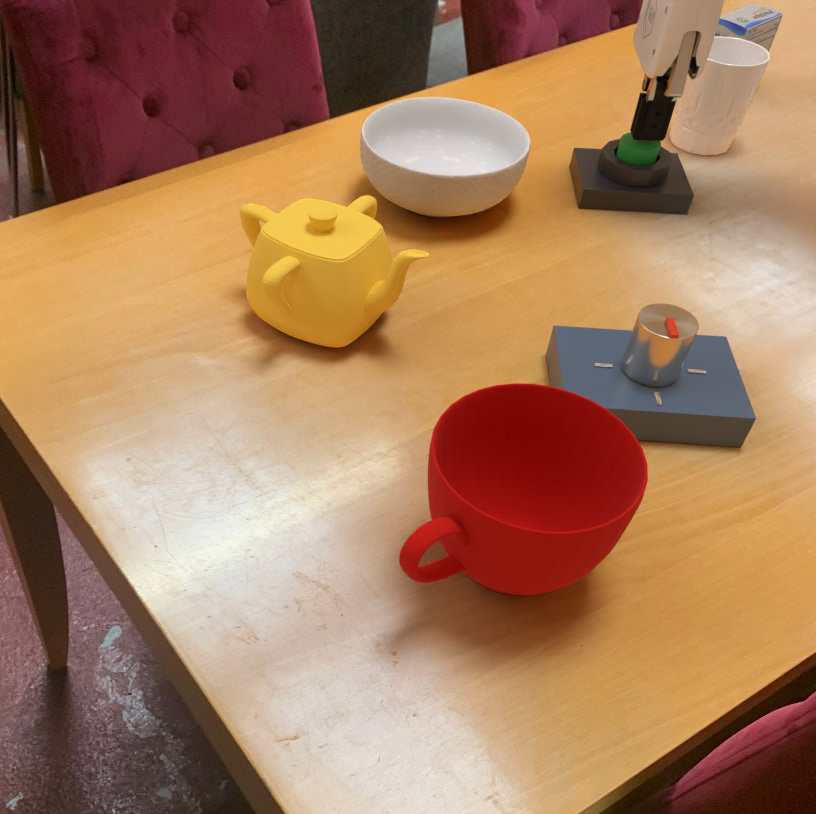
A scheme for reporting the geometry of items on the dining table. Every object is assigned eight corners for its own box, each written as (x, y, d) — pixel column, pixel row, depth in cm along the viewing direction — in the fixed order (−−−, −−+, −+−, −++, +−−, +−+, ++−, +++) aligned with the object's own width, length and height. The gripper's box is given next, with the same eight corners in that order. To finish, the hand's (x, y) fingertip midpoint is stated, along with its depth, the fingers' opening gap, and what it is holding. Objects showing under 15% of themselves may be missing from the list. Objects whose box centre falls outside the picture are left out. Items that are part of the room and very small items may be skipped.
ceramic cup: (330, 568, 60) (335, 464, 53) (506, 462, 67) (533, 356, 60) (464, 705, 53) (493, 607, 46) (645, 571, 60) (695, 467, 53)
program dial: (617, 349, 71) (634, 298, 68) (672, 353, 71) (693, 301, 68) (626, 385, 68) (644, 333, 65) (684, 388, 68) (706, 337, 65)
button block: (671, 172, 97) (683, 136, 94) (687, 215, 91) (700, 178, 88) (569, 166, 98) (577, 130, 95) (578, 209, 92) (588, 172, 89)
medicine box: (725, 75, 114) (751, 1, 108) (756, 86, 112) (785, 12, 106) (689, 91, 111) (714, 16, 104) (721, 104, 109) (748, 27, 102)
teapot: (387, 270, 84) (396, 166, 76) (416, 355, 75) (431, 247, 68) (242, 280, 83) (236, 175, 75) (255, 368, 74) (251, 259, 66)
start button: (652, 149, 93) (657, 132, 92) (659, 167, 90) (664, 151, 89) (613, 147, 93) (618, 130, 92) (619, 165, 91) (623, 149, 89)
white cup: (740, 161, 99) (777, 68, 91) (667, 155, 100) (698, 62, 92) (729, 129, 104) (763, 39, 97) (660, 124, 105) (688, 33, 97)
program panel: (713, 365, 75) (727, 334, 73) (741, 447, 68) (757, 417, 66) (545, 354, 76) (553, 323, 73) (557, 434, 69) (566, 403, 67)
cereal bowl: (465, 262, 85) (476, 193, 80) (324, 206, 92) (327, 138, 86) (546, 191, 94) (561, 125, 89) (413, 145, 101) (420, 80, 95)
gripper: (647, -99, 82) (599, 103, 95) (678, -47, 72) (619, 171, 85) (731, -98, 81) (671, 106, 95) (774, -45, 71) (699, 174, 85)
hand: (646, 136), depth 90 cm, fingers closed
